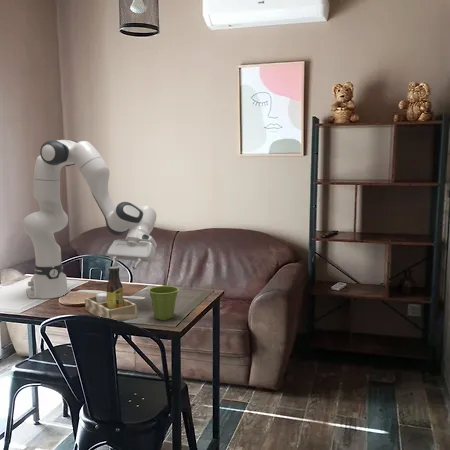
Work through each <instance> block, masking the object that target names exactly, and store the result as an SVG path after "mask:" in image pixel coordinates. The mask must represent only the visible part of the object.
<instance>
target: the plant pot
mask: <svg viewBox="0 0 450 450" xmlns="http://www.w3.org/2000/svg"><path fill="white" fill-rule="evenodd" d="M147 291H148V292H149V296H150V299H151V304H152V310H153V315H154V318H155V319H156V320H161V321H164V320H165V321H166V320H167V321H168V320H170V319H173V318H174V315H175V308H176V299H177V297H178V292H179V291H180V288H178V287H177V286H171V285H158V286H154V287H151V288H149V289H148V290H147Z"/></svg>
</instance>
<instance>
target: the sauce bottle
mask: <svg viewBox="0 0 450 450" xmlns="http://www.w3.org/2000/svg"><path fill="white" fill-rule="evenodd" d="M108 272H109V274H108V275H109V280H108V281H107V283H106V292H107V308H108V309H110V310H111V309H116V308H120V307H123V298H124V293H123V292H124V289H123V285H122V284H123V283H122V281H121V280H120V266H117V267H113V266H109V267H108Z"/></svg>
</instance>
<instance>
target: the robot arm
mask: <svg viewBox="0 0 450 450" xmlns="http://www.w3.org/2000/svg"><path fill="white" fill-rule="evenodd" d="M39 153H40V154H39V155H38V156H37V158H36V159H35V163H34V170H33V171H34V172H33V198H34V199H35V200H36V202H37V203H38V206H39V210H38V211H34V212H32V213H30V214H28V215H27V216H25V217H24V219H23V220H22V229H23V232H24V233H25V234H26V235H28V237H29V238H30V240H31V243H32V246H33V249H34V258H35V265H34V275H32V277H31V278H30V281H27V287H28V288H26V289H25V292H26V294H27V296H29V297H28V298H29V299H40V300H41V299H42V300H43V299H44V300H45V299H48V300H49V299H56V298H60V297H63V295H64V296H66V295H67V294H68V293H71V288H70V287H68V280H67V275H66V274H65V273H64V272H63V271H64V266H63V263H62V249H61V246H60V245H59V244H58V243H57V241H56V238H55V233H57V232H58V233H59V232H60V231H62V230H63V229H64V228H66V227H67V226H68V223H69V216H68V214H67V213H66V212H65V210H64V208H63V205H62V204H63V203H62V201H61V171H62V168H63V167H64V166H65V167H71V166H74V165H75V166H76V167H77V169H78V171H79V172H80V173H81V175H82V177H83V178H84V180H85V182H86V184H87V185H88V188H89V190H90V192H91V194H92V196H93V198H94V201H95V202H96V204H97V206H98V207H99V210H100V212H101V213H102V215H103V217H104V220H105V226H106V229H107V230H108V232H110V233H111V234H112V235H115V236H124V235H126V237H125V238H117V239H115V240H113V242H112V243H111V245H110V246H109V248H108V250H107V251H106V252H107V256H108V257H109V259H112V260H113V261H112V262H113V263H112V266H111V267H119V263H118V262H119V260H123V261H134V262H135V263H133V264H132V269H133V270H138V268H139V267H140V266H141V265H142V264H143V262H145V263H146V262H147V263H148V262H149V263H150V262H152V261H153V260H154V257H155V254H156V248H157V247H158V245H157V242H156V241H155V239H154V238H153V236H152V235H150V234H151V233H152V231H153V229H154V226H155V225H156V220H157V213H156V210H155V209H154V208H153V207H151V206H150V205H147V204H143V205H137V204H133V203H131V202H129V201H121V202H120V203H118V204H117V205H115V203H114V200H112V198H111V195H110V193H109V189H108V188H109V179H110V169H109V166H108V164H107V163H106V161H105V160H104V158H103V157H102V155H101V153H100V152H99V151H98V149H96V148H95V146H94V145H93V144H92V143H91V142H90V141H88V140H81V141H77V140H69V139H60V140H59V139H49V140H46V141H45V142H44V143H43V144H42V145H41V146H40V150H39ZM67 292H68V293H67ZM66 293H67V294H66ZM65 294H66V295H65Z"/></svg>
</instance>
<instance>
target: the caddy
mask: <svg viewBox="0 0 450 450" xmlns="http://www.w3.org/2000/svg"><path fill="white" fill-rule="evenodd" d="M84 305H85V307H84V308H85V309H84V310H85V311H87V312H88V313H90V314H92V315H94V316H95V317H97V316H101V317H106V318H110V319H116V320H121V321H120V322H122V321H127V320H130V319H135V318H138V304H136V303H134V302H132V301H130V300H128V299H126V298H124V297H123V307H120V308H116V309H111V310H110V309H108V308H107V302H103V303H97V300H96V295H95V296H89V297H85V298H84Z"/></svg>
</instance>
